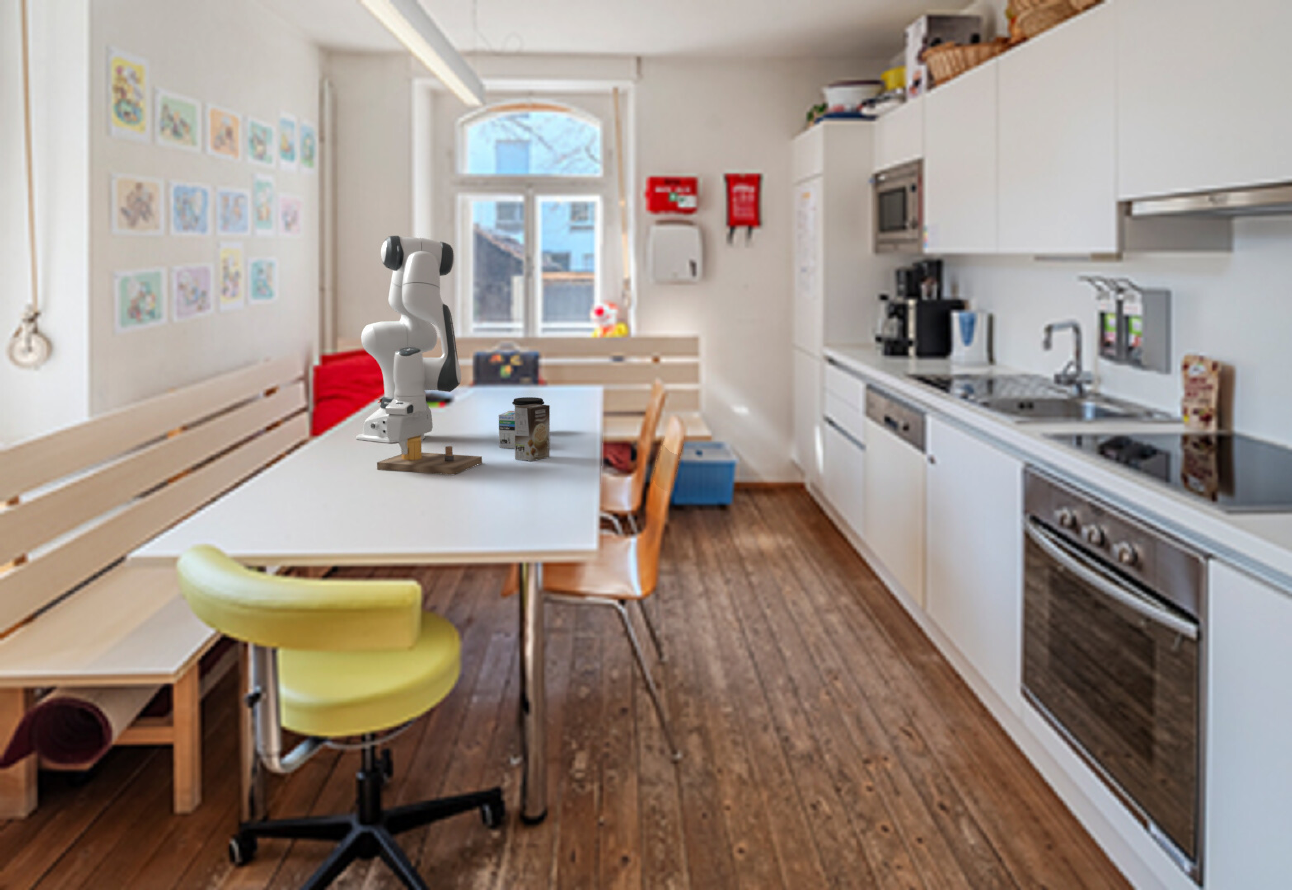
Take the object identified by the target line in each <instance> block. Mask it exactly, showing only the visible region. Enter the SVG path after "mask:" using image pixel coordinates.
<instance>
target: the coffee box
mask: <svg viewBox="0 0 1292 890" xmlns="http://www.w3.org/2000/svg"><path fill="white" fill-rule="evenodd" d="M550 408H551V407H550V405H549V404H543V405H542V404H530V405H522V406H514V411H515V449H514V459H515V460H518V459H522V460H521V461H525V460H528V461H527V462H533V461H532V460H534V461H537V460H536V459H539V460H542V459H543V458H544V459H547V457H548V458H550V455H551V454H550V453H551V451H550V450H551V448H550V444H551V443H550V440H551V439H550V437H551V435H550V433H551V432H550V430H551V429H550V428H551V427H550V419H551V418H550V415H551V414H550V413H551V412H550V411H551V410H550Z"/></svg>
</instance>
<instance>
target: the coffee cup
mask: <svg viewBox="0 0 1292 890" xmlns="http://www.w3.org/2000/svg"><path fill="white" fill-rule="evenodd" d="M530 404H542V405H545V401H544V399H543V398H541V397H532V396H531V397H530V396H529V397H517V398H514V399H513V401H512V405H513V406H514V407H515V406H522V405H530Z"/></svg>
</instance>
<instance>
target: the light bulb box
mask: <svg viewBox="0 0 1292 890" xmlns="http://www.w3.org/2000/svg"><path fill="white" fill-rule="evenodd" d="M498 444H499V445H498V446H499V447H500V449H514V448H515V410H508V411H506V412H502V413H501V414H498ZM499 447H498V448H499Z"/></svg>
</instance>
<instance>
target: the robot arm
mask: <svg viewBox="0 0 1292 890" xmlns="http://www.w3.org/2000/svg"><path fill="white" fill-rule="evenodd" d="M380 257H381V260H382V264H383V265H384V267H385V268H387V269H389V270H390V271H392V274H391V279H390V286H389V293H388V298H387V299H388V300H387V301H388V303H389V306H390V308H391V310H393V311H395V312H396V313H398V314H400V318H399V319H400V320H395V321H394V320H393V321H392V320H391V321H378V322H373V323H369V324H367V325H365V327H364V328H363V329H362V331H361V336H360V341H361V345H362V348H363V349H364V351H365V352H366V353H368V354H369V355H370V356H372V357H373V358H374V360H376V362H377V364H378V365H379V367H380V369H381V373H382V378H383V390H384V396H383V397H381V398H380V399H377V404H380V406H379V408H378V409H376V410H375V411H374V412H373V413H372V414H370V415H369V416H368V417H366V419H365V421H364V422H363V427H362V433H359V434H357V435H356V436H355V437H356V438H355V439H356V440H360V441H369V442H378V443H379V442H380V443H387V444H390V443H391V444H392V443H398V444H399V447H400V451H401V453H400V454H405V455H406V454H409V448H408V446H407V442H408V439H409V438H412V437H415V436H419V437H421V445H422V444H423V440H424V439H425V438H426V436H425V434H427V433H430V432H431V433H432V430H433V425H434V424H433V418H432V410H431V408H430V407H429V404H428V402H427V401H426V400H427V399H426V395H427V394H426V391H438V392H447V393H451V392H452V391H454V390H455V389H457V387H459V385H460V384H461V380H462V370H461V366H460V364H459V363H460V362H459V357H458V353H457V350H458V349H457V342H456V336H455V329H454V322H453V317H452V316H453V315H452V312H451V310H450V308H449V306H448V305H447V304H445V303H444V302H443V300H442V297H441V276H447V275H448V274H449V273H450V272H451V271H452V268H453V267H454V264H455V253H454V249H453V247H452V246H451V245H450V244H449V243H446V242H444V241H437V240H434V239H429V238H425V237H413V236H399V235H389V236H388V237H386V238H385V239H384V241H383V243H382V245H381V249H380ZM435 326H436V327H437V329H438V331H439V338H440V345H441V353H442V355H441V356H440V357H424V355H423V353H427V352H429V351H432V350H434V348H435V347H436V345H437V342H438V333H437V329H436V328H435Z"/></svg>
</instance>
